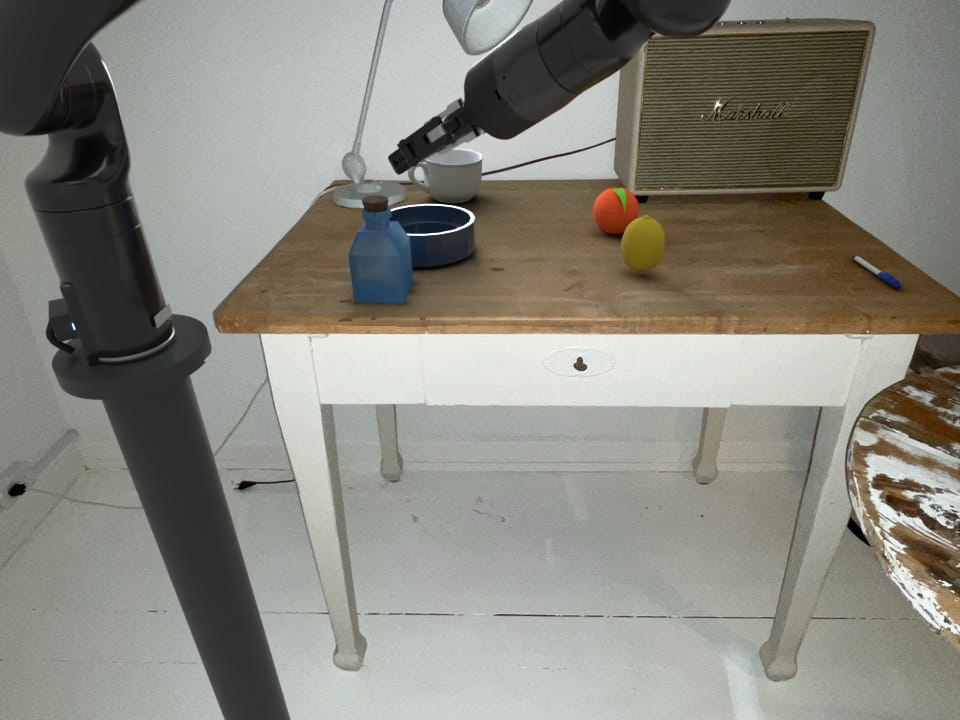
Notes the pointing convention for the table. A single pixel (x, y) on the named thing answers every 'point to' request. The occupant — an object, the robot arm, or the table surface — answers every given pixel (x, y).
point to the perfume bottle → (380, 256)
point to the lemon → (643, 244)
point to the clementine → (615, 210)
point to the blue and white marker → (878, 272)
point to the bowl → (437, 233)
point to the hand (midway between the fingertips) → (419, 152)
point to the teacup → (451, 175)
